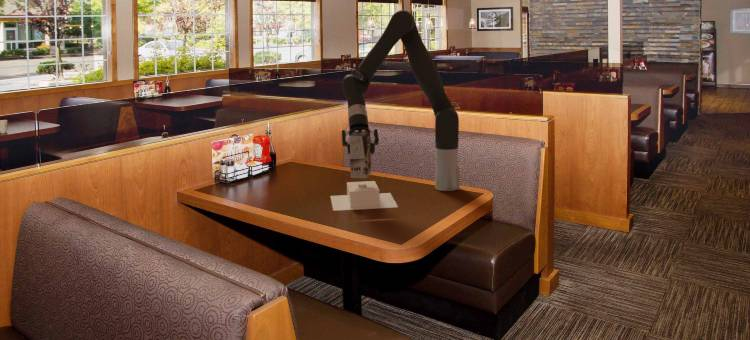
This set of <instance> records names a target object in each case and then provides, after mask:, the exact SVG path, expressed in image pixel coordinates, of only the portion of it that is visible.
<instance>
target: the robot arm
mask: <svg viewBox="0 0 750 340" xmlns="http://www.w3.org/2000/svg"><path fill="white" fill-rule="evenodd" d="M400 40H401V41H400ZM399 41H400V42H402V44H403V47H404V49H405V51H406V56H407V58H408V63H409V67H410V69H411V72H412V74H413V76H414V79H415V80H416V82H417V84H418V86H419V87H420V89H421V91H422V92H423V93H424V95H425V96H426V98H427V99H428V101H429V103H430V106H431V109H432V111H433V115H434V117H435V118H434V119H435V123H434V124H435V125H434V131H435V132H434V133H435V134H434V135H435V136H434V138H435V139H434V141H435V143H434V145H435V151H434V152H435V157H434V158H435V162H434V166H435V167H434V168H435V169H434V170H435V172H434V173H435V174H434V175H435V176H434V177H435V178H434V181H435V183H434V186H435V187H434V189H435V190H437V191H441V192H452V191H457V190H459V191H460V166H459V139H460V138H459V136H460V135H459V131H460V130H459V129H460V127H459V126H460V123H459V121H460V118H459V114H458V112H457V111H456V109H455V107H454V106H453V104H452V103H451V100H450V99H449V97H448V95H447V93H446V89H445V88H444V84H443V81H442V78H441V76H440V73H439V71H438V68H437V66H436V64H435V62H434V60H433V58H432V56H431V54H430V52H429V50H428V49H427V47H426V45H425V43H424V42H423V39H422V37H421V36H420V33H419V30H418V27H417V24H416V20H415V17H414V15H413V14H412V13H411V12H410V11H408V10H404V9H399V10H397V11H395V12H394V13H393V14H392V15H391V17H390V20H389V22H388V23H387V26H386V27H385V30H384V31H383V33H382V34H381V36H380V37H379V38H378V40H377V42H375V44H374V45H373V46H372V48H371V49H370V51H369V52H368V53H367V54H366V55H365V56H364V58H363V60H362V61H361V62H360V63H359V65H358V67H357V69H358V71H359V73H360V74H361V75H362V76H361V78H359V77H357V76H356V75H354V74H347V75H345V76H344V77H343V78H342V82H341V89H342V92H343V95H344V97H345V100H346V102H347V116H348V117H347V118H348V127H349V128H348V129H349V130H348V131H346V130H344V129H342V130H341V144H342V147H347V155H350V139H349V140H348V141H346V138H347V137H348V136H349V137H350V135H351V134H353V133H354V132H370V135H372V137H374V139H373V138H371V156H372V155H374V154H375V152H376V147H375V146H378V145H379V141H380V139H379V132H378V129H377V128H375V129H374V130H371V129H370V128H369V117H368V111H367V108H366V106H367V105H366V99H365V96H364V95H365V94H367V92H368V89H369V87H370V84H371V82H372V79H373V78H374V75H375V74H376V73H377V72H378V70H379V69H380V67H381V66H382V65H383V63H384V62H385V60H386V59H387V58H388V55H389V54H390V52H391V51H392V49H393V48H394V46H395V45H396V44H397V43H398V42H399Z"/></svg>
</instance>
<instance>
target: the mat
mask: <svg viewBox="0 0 750 340" xmlns="http://www.w3.org/2000/svg"><path fill="white" fill-rule="evenodd" d="M329 197H330V201H331V206H332V211H333V212H334V211H335V212H338V211H340V212H341V211H354V210H357V211H358V210H370V209H371V210H372V209H389V208H391V209H392V208H393V209H394V208H398V207H399V206H398V204H397V202H396V201H395V199H394V196H393V195H392V194H391V192H382V193H380V206H367V207H350V205H349V201H348V198H347V194H343V195H330V196H329Z"/></svg>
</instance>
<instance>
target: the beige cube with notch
mask: <svg viewBox="0 0 750 340" xmlns="http://www.w3.org/2000/svg"><path fill="white" fill-rule="evenodd" d="M346 195H347V198H348V201H349V205H350V207H367V206H380V189H379V187H378V185H377V183H376V181H375V180H370V181H368V180H367V181H349V182H346Z"/></svg>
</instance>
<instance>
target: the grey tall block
mask: <svg viewBox="0 0 750 340" xmlns="http://www.w3.org/2000/svg"><path fill="white" fill-rule="evenodd" d="M371 139H372V137H371V134H370V132H354V133H353V134H351V135H350V136H349V140H350V154H349V157H350V158H349V161H350V179H351V178H353V179H367V178H369V176H370V175H371V174H372V155H371Z"/></svg>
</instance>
